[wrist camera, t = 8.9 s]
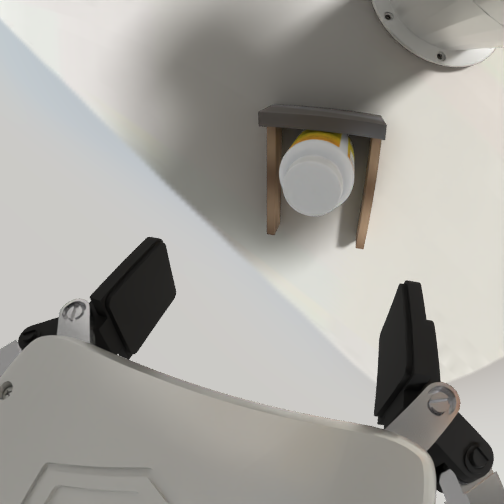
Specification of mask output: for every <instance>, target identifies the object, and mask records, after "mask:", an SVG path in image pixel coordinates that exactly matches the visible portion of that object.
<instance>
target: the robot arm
mask: <svg viewBox="0 0 504 504" xmlns="http://www.w3.org/2000/svg"><path fill="white" fill-rule="evenodd" d="M372 4H373V7H374V9H375V12H376V14H377V16H378V18H379V19H380V21H381V22H382V24H383V26H384V27H385V29H386V30H387V31H388V32H389V33H390V34H391V35H392V37H393V38H394V39H395V40H396V41H398V42H399V43H400V44H401V45H402V46H403V47H404V48H406V49H407V50H409V51H410V52H412V53H413V54H415V55H416V56H418V57H420V58H422V59H424V60H427V61H429V62H432V63H435V64H438V65H441V66H448V67H467V66H473V65H475V64H478V63H480V62H482V61H484V60H485V59H486V58H488V57H489V56H490V55H491V54H492V53H493V52H494V50H495V49H496V48H499V47H504V0H372ZM386 15H388V16H390V18H391V19H390V20H387V19H386V18H385V16H386ZM437 54H440V56H441V59H438V58H437ZM175 295H176V289H175V285H174V280H173V276H172V272H171V268H170V263H169V258H168V253H167V249H166V245H165V243H163V241H162V240H161V239H159V238H153V237H148V238H146V239H145V240H144V241H143V242H142V243H141V244H140V245H139V246H138V247H137V248H136V249H135V250H134V251H133V252H132V253H131V254H130V255H129V256H128V257H127V258H126V259H125V260H124V261H123V262H122V263H121V264H120V265H119V266H118V267H117V268H116V269H115V271H114V272H112V274H111V275H110V276H109V277H108V278H107V279H106V280H105V281H104V282H103V283H102V284H101V285H100V286H99V287H98V289H96V291H95V292H94V293H93V294H92V295H91V296H90V298H91V302H90V303H88V302H87V301H86V300H84V299H74V300H72V301H69V302H68V303H66V304H65V305H64V306H63V307H62V309H61V310H60V313H59V317H58V318H55V319H52V320H48V321H45V322H43V323H39V324H36V325H32V326H30V327H28V328H26V329H25V330H24V331H23V332H22V333H21V335H20V337H19V340H18V342H17V341H16V340H15V341H13V342H11V343H10V344H8V345H7V346H5V347H3V348H1V349H0V504H435V502H436V489H437V490H438V491H439V492H441V493H444V496H445V498H446V502H444V503H445V504H504V488H503V486H502V483H501V481H500V478H499V476H498V474H497V472H494V473H493V470H492V468H491V467H492V464H493V461H494V458H493V451H492V448H491V447H490V446H489V444H488V443H487V442H486V441H485V440H484V439H483V438H482V437H481V435H480V434H479V433H478V432H477V431H476V430H475V429H474V428H473V427H472V426H471V425H470V424H469V423H468V422H467V421H466V420H465V419H464V417H462V415H461V414H460V413H459V412H458V411H459V409H460V399H459V396H458V393H457V391H456V390H455V389H454V388H453V387H452V386H450V385H449V384H447V383H443V382H440V369H439V359H438V349H437V341H436V333H435V326H434V322H433V321H431V320H426V314H425V307H424V300H423V294H422V288H421V284H420V283H419V282H413V281H407V280H406V281H405V282H404V284H399V286H398V289H397V292H396V295H395V297H394V300H393V303H392V305H391V308H390V311H389V313H388V316H387V318H386V321H385V323H384V326H383V328H382V331H381V334H380V338H379V357H378V374H377V387H376V399H375V409H374V416H378V424H380V425H384V429H380V428H376V427H372V426H367V425H362V424H357V423H352V422H346V421H340V420H335V419H329V418H324V417H319V416H313V415H309V414H304V413H299V412H294V411H290V410H285V409H281V408H277V407H272V406H268V405H264V404H260V403H256V402H252V401H249V400H245V399H242V398H238V397H234V396H231V395H227V394H224V393H220V392H217V391H214V390H211V389H207V388H204V387H201V386H198V385H195V384H192V383H189V382H186V381H183V380H180V379H177V378H175V377H172V376H169V375H166V374H164V373H161V372H158V371H156V370H153V369H150V368H148V367H145V366H142V365H140V364H138V363H135V362H133V361H130V360H129V359H130V357H131V356H132V354H135V353H137V351H138V350H139V348H140V347H141V346H142V344H143V343H144V341H145V340H146V338H147V337H148V335H149V334H150V332H151V331H152V330H153V328H154V327H155V325H156V324H157V322H158V321H159V319H160V318H161V317H162V315H163V314H164V312H165V311H166V310H167V308H168V307H169V305H170V304H171V303H172V301H173V300H174V298H175ZM117 354H119V356H118V355H117ZM123 357H124V358H123ZM125 358H126V359H125Z"/></svg>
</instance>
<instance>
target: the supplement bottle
mask: <svg viewBox="0 0 504 504" xmlns="http://www.w3.org/2000/svg"><path fill="white" fill-rule="evenodd" d="M279 179H280V184H281V186H282V189H283V193H284V196H285V199H286V201H287V202H288V204H289V205H290V206H291V207H292V208H293V209H294V210H296V211H297V212H299V213H301V214H304V215H307V216H321V215H325V214H327V213H329V212H331V211H332V210H333V209H334V208H336V207H338V206H339V205H341V204H342V203H343V202H344V201H345V200H346V199H347V198H348V196H349V195H350V193H351V191H352V188H353V185H354V147H353V143H352V141H351V139H350V137H349V136H348V134H342V133H334V132H325V131H316V130H306V129H304V130H303V131H302V132H301V133H300V134H299V136H298V137H297V139H296V140H295V141H294V143H293V144H292V145H291V147H290V148H289V150H288V151H287V152H286V154H285V155H284V157H283V159H282V161H281V164H280V168H279Z"/></svg>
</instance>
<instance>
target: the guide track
mask: <svg viewBox="0 0 504 504" xmlns="http://www.w3.org/2000/svg"><path fill="white" fill-rule="evenodd" d="M258 116H259V126H264V127H267V234H270V235H275V233H276V231H277V229H278V227H279V224H280V205H281V184H280V179H279V168H280V164H281V155H282V128H294V129H306V130H316V131H325V132H334V133H342V134H349V135H356V136H363V137H369V138H370V144H369V153H368V161H367V169H366V177H365V184H364V191H363V198H362V204H361V210H360V216H359V222H358V228H357V233H356V248H359V249H363V248H364V244H365V239H366V234H367V229H368V224H369V218H370V213H371V207H372V202H373V196H374V190H375V183H376V177H377V170H378V163H379V155H380V147H381V140H385V135H386V126H387V125H386V123H385V122H384V120H383V118H382V117H381V116H380V115H374V114H367V113H360V112H353V111H346V110H337V109H328V108H318V107H307V106H293V105H271V106H269V107H267V108H265V109H263V110H261V111H259V112H258Z"/></svg>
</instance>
